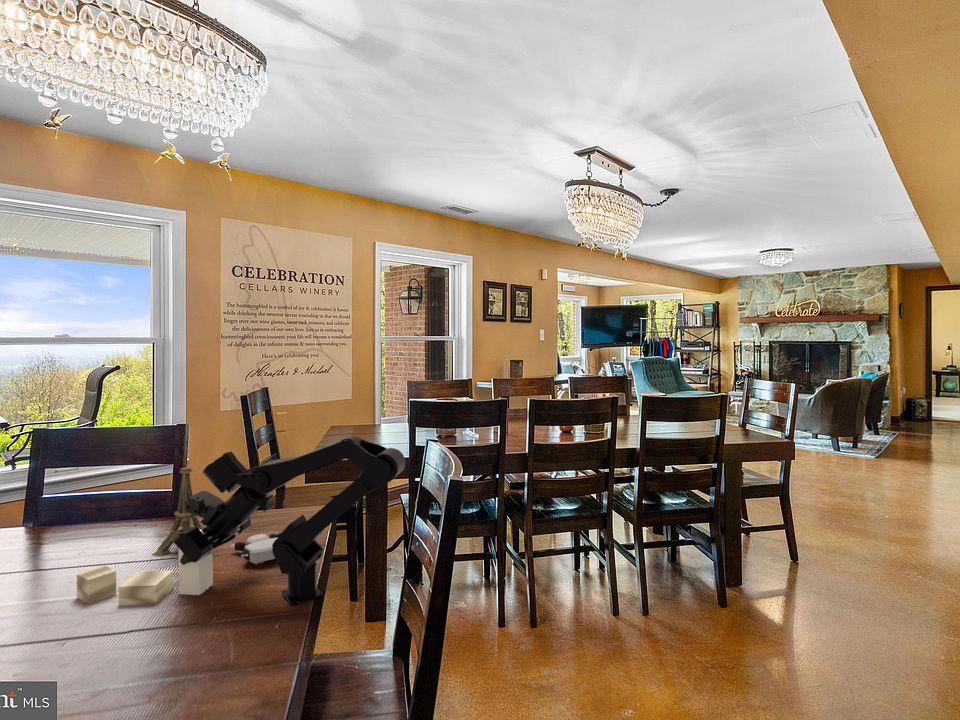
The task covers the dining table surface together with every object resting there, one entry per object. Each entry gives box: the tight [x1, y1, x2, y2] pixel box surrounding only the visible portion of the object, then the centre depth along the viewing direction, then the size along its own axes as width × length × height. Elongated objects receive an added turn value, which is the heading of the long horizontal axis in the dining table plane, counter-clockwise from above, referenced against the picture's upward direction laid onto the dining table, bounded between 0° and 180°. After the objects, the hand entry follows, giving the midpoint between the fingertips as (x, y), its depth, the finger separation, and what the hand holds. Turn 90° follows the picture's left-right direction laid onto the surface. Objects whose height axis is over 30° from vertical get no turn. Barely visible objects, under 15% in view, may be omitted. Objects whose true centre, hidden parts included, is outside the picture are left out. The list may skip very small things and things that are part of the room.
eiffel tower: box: [151, 451, 204, 561], centre depth 131 cm, size 11×11×25 cm
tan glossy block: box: [118, 570, 174, 607], centre depth 107 cm, size 7×7×4 cm
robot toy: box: [230, 533, 277, 565], centre depth 128 cm, size 12×4×15 cm
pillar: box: [177, 529, 214, 596], centre depth 110 cm, size 4×4×12 cm
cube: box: [76, 565, 117, 605], centre depth 107 cm, size 5×5×5 cm
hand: (189, 558), depth 110 cm, fingers closed on pillar, 4 cm apart
